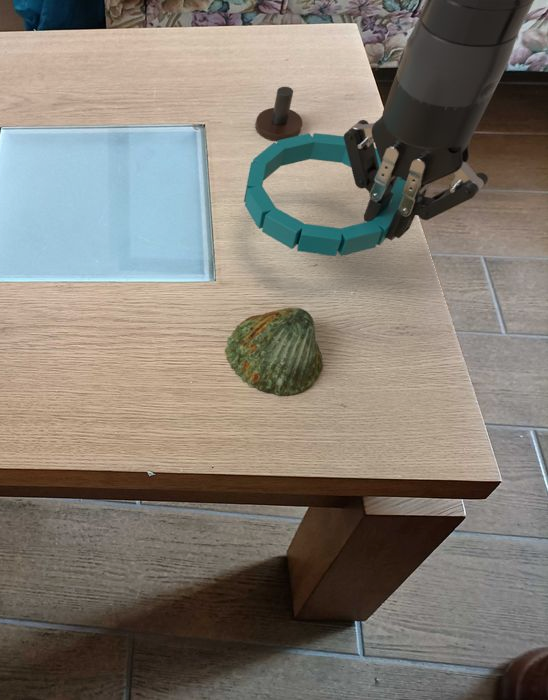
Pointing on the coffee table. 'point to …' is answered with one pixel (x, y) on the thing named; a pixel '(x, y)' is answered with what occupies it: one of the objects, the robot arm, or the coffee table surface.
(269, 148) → the ring
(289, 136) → the peg stand
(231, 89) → the coffee table surface
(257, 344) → the seashell
